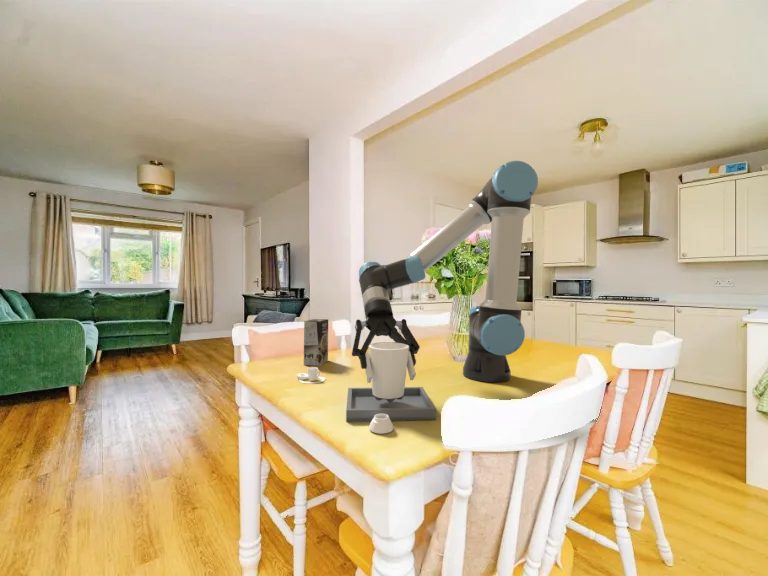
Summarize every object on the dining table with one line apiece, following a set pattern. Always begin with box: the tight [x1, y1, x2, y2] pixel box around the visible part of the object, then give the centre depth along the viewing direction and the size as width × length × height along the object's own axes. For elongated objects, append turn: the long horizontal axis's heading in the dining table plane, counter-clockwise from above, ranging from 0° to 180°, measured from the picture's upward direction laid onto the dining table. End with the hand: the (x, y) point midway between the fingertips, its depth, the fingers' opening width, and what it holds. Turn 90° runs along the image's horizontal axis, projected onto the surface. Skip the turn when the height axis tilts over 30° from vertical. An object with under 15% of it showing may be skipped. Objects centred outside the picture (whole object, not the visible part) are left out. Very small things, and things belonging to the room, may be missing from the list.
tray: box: [345, 386, 437, 423], centre depth 84 cm, size 20×16×2 cm
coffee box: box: [303, 318, 329, 367], centre depth 129 cm, size 9×6×16 cm
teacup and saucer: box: [296, 366, 326, 385], centre depth 107 cm, size 9×8×4 cm
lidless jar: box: [368, 413, 394, 435], centre depth 72 cm, size 5×3×5 cm
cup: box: [368, 341, 409, 402], centre depth 84 cm, size 10×10×13 cm
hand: (391, 378), depth 81 cm, fingers closed on cup, 10 cm apart
